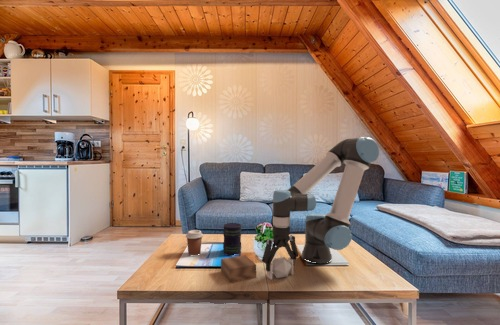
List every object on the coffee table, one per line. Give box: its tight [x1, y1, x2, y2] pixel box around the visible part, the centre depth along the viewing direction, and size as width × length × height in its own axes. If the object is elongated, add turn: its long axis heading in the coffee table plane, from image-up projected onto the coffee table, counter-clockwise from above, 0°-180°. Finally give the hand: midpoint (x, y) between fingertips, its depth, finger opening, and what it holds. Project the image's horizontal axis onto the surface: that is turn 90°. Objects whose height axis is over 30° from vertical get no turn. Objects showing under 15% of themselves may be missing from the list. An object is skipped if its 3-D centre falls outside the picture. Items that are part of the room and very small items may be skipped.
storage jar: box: [222, 222, 242, 256], centre depth 146 cm, size 10×10×15 cm
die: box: [271, 256, 291, 279], centre depth 118 cm, size 8×9×10 cm
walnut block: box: [220, 254, 257, 284], centre depth 119 cm, size 12×12×6 cm
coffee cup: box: [185, 229, 204, 256], centre depth 143 cm, size 9×9×12 cm
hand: (280, 275), depth 118 cm, fingers open, 10 cm apart
